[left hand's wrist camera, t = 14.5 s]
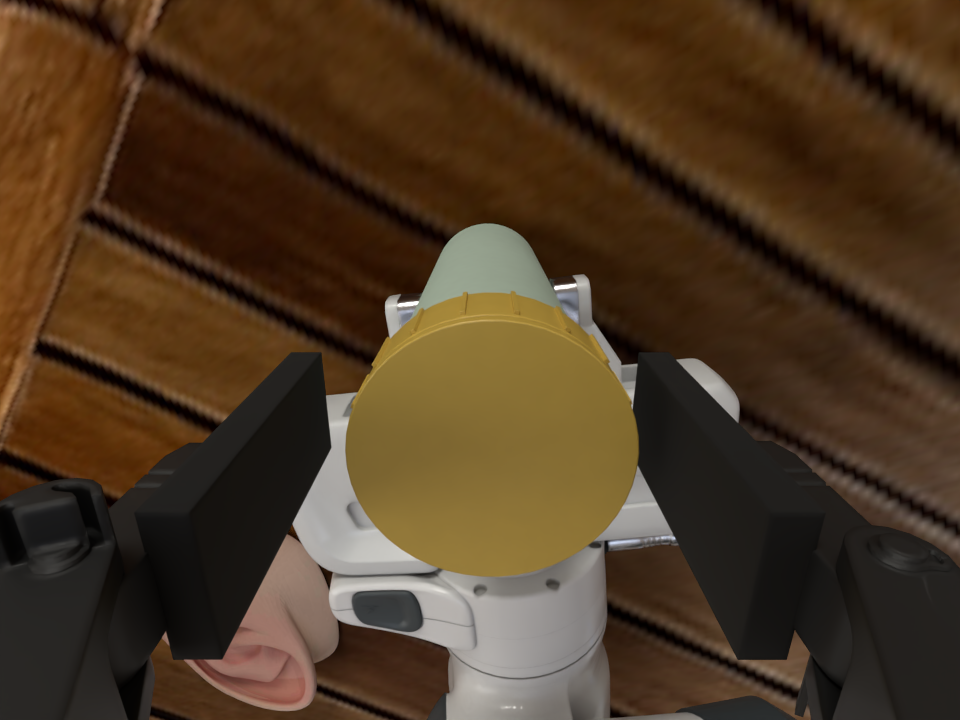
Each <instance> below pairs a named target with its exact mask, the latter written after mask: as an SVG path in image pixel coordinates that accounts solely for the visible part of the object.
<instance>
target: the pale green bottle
mask: <svg viewBox="0 0 960 720" xmlns="http://www.w3.org/2000/svg"><path fill="white" fill-rule="evenodd" d="M511 291H515V292H516V295H520V296H524V297H528V298H532V299H535V300H538V301H540V302H542V303H545V304H547V305H550V306H552V307H553V308H555V307H556V306H558V307H560V308H561V310H562V312H563V313H564V314H565V315H566V313H565V311H564V309H563V307H562V305H561V303H560V301H559V300H558V298H557V296H556V294H555V292H554V290H553V288H552V286H551V284H550V282H549V281H548V279H547V277H546V275H545V273H544V271H543V269H542V267H541V265H540V263H539V261H538V260H537V258H536V256H535V254H534V252H533V250H532V248H531V247H530V245H529V244H528V243H527V241H526V240H525V239H524V238H523V237H522V236H520V235H519V234H518V233H517V232H515V231H513V230H512V229H509V228H507V227H505V226H501V225H497V224H479V225H474V226H471V227H468V228H466V229H464V230H462V231H461V232H459V233H458V234H456V235H455V236H454V237H453V238H452V239H451V240H450V241H449V242H448V243H447V245H446V246H445V247H444V249H443V251H442V253H441V255H440V257H439V259H438V261H437V263H436V266H435V268H434V270H433V272H432V274H431V276H430V278H429V281H428V283H427V285H426V287H425V289H424V291H423V293H422V296H421V298H420V300H419V302H418V304H417V306H416V308H415V310H414V313H413V315H412V317H411V319H412V318H413V317H415V316H416V315H417V313H418V311H419V309H421V308H423V309H424V310H426V309H428V308H429V307H431V306H433V305H435V304H438V303H440V302H443V301H445V300H448V299H451V298H455V297H459V296H462V295H463V292H468V294H475V293H508V294H510V293H511ZM411 319H410V320H411Z"/></svg>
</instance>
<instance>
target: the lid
mask: <svg viewBox="0 0 960 720" xmlns="http://www.w3.org/2000/svg"><path fill="white" fill-rule="evenodd" d="M608 363H610V361H609V359H608V358H607V356H606V354H605V353H604V351H603V349H602V348H601V346H600V345H599V343H598V341H597V340H596V338H595V337H594V335H593V334H591V335H590V336H589V335H588V334H587V333H586V332H585V331H584V330H583V329H582V328H581V327H580V326H579V325H578V324H577V323H576V322H574V321H573V320H572V319H571V318H569V317H568V316H567V315H565V314H564V313H563V312H562V310H561V308H560V307H558V306H556V307H555V308H553V307H552V306H550V305H547V304H545V303H542V302H540V301H538V300H535V299H532V298H528V297H524V296H520V295H516V292H515V291H511V293H510V294H508V293H475V294H468V292H463V295H462V296H459V297H455V298H451V299H448V300H445V301H443V302H440V303H438V304H435V305H433V306H431V307H429V308H428V309H426V310H424V309H423V308H421V309H419V311H418V313H417V315H416V316H415V317H413V318H412V319H411V320H409V321H408V322H407V323H405V324H404V325H403V326H402V327H401V328H400V329H399V330H398V331H397V332H396V333H395V334H394V335H393V337H392V338H389V337H387V338H386V340H385V342H384V343H383V345H382V347H381V349H380V351H379V352H378V354H377V356H376V358H375V360H374V362H373V363H372V366H373V369H372V371H371V373H370V374H368V375H367V376H366V378H365V380H364V382H363V384H362V386H361V387H360V389H359V391H358V393H357V395H356V397H355V398H354V400H353V402H352V404H351V408H353V409H352V411H351V414H350V417H349V422H348V427H347V431H346V444H345V454H346V465H347V470H348V474H349V478H350V482H351V485H352V488H353V490H354V493H355V495H356V498H357V500H358V502H359V503H360V505H361V507H362V508H363V510H364V512H365V514H366V515H367V516H368V518H369V519H370V520H371V521H372V523H373V524H374V525H375V527H376V528H377V529H378V530H379V531H380V532H381V533H382V534H383V535H384V536H385V537H386V538H387V539H388V540H390V541H391V542H392V543H393V544H395V545H396V546H397V547H399V548H400V549H401V550H403V551H404V552H406V553H408V554H409V555H411V556H413V557H414V558H416V559H418V560H420V561H423V562H425V563H427V564H429V565H431V566H434V567H437V568H440V569H443V570H446V571H450V572H454V573H459V574H463V575H471V576H480V577H502V576H513V575H520V574H525V573H529V572H534V571H537V570H540V569H544V568H547V567H550V566H552V565H554V564H557V563H559V562H561V561H563V560H566V559H567V558H569V557H571V556H573V555H574V554H576V553H578V552H579V551H581V550H582V549H584V548H585V547H586V546H588V545H589V544H590V543H592V542H593V541H594V540H595V539H596V538H597V537H599V536H600V535H601V534H602V533H603V532H604V531H605V530H606V529H607V528H608V526H609V525H610V524H611V523H612V521H613V520H614V519H615V518H616V516H617V515H618V513H619V512H620V510H621V508H622V507H623V505H624V504H625V502H626V500H627V498H628V495H629V493H630V491H631V488H632V486H633V482H634V479H635V475H636V471H637V466H638V458H639V435H638V429H637V424H636V418H635V416H634V413H633V410H632V407H631V405H632V401H631V399H630V397H629V396H628V394H627V392H626V391H625V389H624V387H623V386H622V384H621V382H620V381H619V379H618V377H617V376H616V374H615V373H614V371H612V369H611V368H610V366H609V364H608Z"/></svg>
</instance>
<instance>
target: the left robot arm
mask: <svg viewBox="0 0 960 720" xmlns="http://www.w3.org/2000/svg"><path fill="white" fill-rule="evenodd" d="M633 413H634V416H635V418H636V424H637V429H638V435H639V458H638V467H639V469H640V471H641V473H642V475H643V477H644V479H645V481H646V483H647V485H648V487H649V489H650V491H651V493H652V494H653V496H654V498H655V500H656V502H657V504H658V506H659V508H660V510H661V512H662V514H663V516H664V518H665V520H666V522H667V524H668V525H669V527H670V529H671V531H672V533H673V535H674V537H675V539H676V541H677V543H678V545H679V547H680V549H681V551H682V553H683V555H684V556H685V558H686V560H687V562H688V564H689V566H690V568H691V570H692V572H693V574H694V576H695V578H696V580H697V582H698V584H699V586H700V587H701V589H702V591H703V593H704V595H705V597H706V599H707V601H708V603H709V605H710V607H711V609H712V611H713V613H714V615H715V617H716V618H717V620H718V622H719V624H720V626H721V628H722V630H723V632H724V634H725V636H726V638H727V640H728V642H729V644H730V646H731V648H732V649H733V651H734V653H735V655H736V657H737V659H738V660H787V656H788V652H789V649H790V645H791V641H792V638H793V634H794V630H795V631H796V632H797V634H798V635H799V637H800V638H801V640H802V641H803V643H804V644H805V646H806V647H807V649H808V650H809V652H810V657H809V660H808V664H807V667H806V671H805V674H804V678H803V681H802V685H801V688H800V692H799V695H798V699H797V702H796V708H795V715H798V716H801V717H803V715H804V712H805V709H806V705H807V704H808V703H809V708H810V715H811V720H960V568H959V567H958V566H957V565H956V564H955V562H954V561H953V560H952V559H951V558H950V557H949V556H948V555H947V554H945V553H944V552H942V551H941V550H940V549H938V548H937V547H935V546H934V545H932V544H931V543H929V542H926V541H924V540H922V539H920V538H918V537H916V536H914V535H912V534H909V533H906V532H902V531H899V530H896V529H892V528H889V527H882V526H874V525H871V524H870V523H869V522H868V521H866V520H865V519H864V518H863V517H862V516H861V515H860V514H859V513H858V512H857V511H856V510H855V509H854V508H853V507H851V506H850V505H849V504H848V503H847V502H846V501H845V500H844V499H843V498H842V497H841V496H840V495H839V494H838V493H836V492H835V491H834V490H833V489H832V488H831V487H830V486H826V482H825V481H824V480H822V479H821V478H820V477H819V476H818V475H817V474H816V473H812V469H811V468H810V467H809V466H807V465H806V464H805V463H804V462H803V461H802V460H801V459H800V458H799V457H798V456H797V455H796V454H794V453H792V452H790V451H789V450H787V449H785V448H783V447H781V446H779V445H777V444H776V443H774V442H772V441H755V440H754V439H753V438H752V437H751V436H750V435H749V434H748V433H747V432H746V431H745V430H744V429H743V428H742V427H741V426H740V424H739V423H738V422H737V421H736V420H735V419H734V418H733V417H732V416H731V415H730V414H729V413H728V412H727V411H726V410H725V409H724V408H723V407H722V406H721V405H720V404H719V403H718V402H717V401H716V400H715V399H714V398H713V397H712V396H711V395H710V394H709V393H708V392H707V391H706V390H705V389H704V388H703V387H702V386H701V385H700V384H699V383H698V382H697V381H696V380H695V379H694V378H693V377H692V376H691V375H690V374H689V373H688V372H687V371H686V370H685V368H684V367H683V366H682V365H681V364H680V363H679V362H678V361H677V360H676V359H675V358H674V357H673V356H672V355H671V354H670V353H669V352H639V355H638V364H637V373H636V382H635V391H634V401H633ZM331 448H332V446H331V437H330V428H329V419H328V410H327V401H326V391H325V382H324V373H323V364H322V355H321V352H291V353H290V354H289V355H288V356H287V357H286V358H285V359H284V360H283V361H282V362H281V363H280V364H279V365H278V366H277V367H276V368H275V370H274V371H273V372H272V373H271V374H270V375H269V376H268V377H267V378H266V379H265V380H264V381H263V382H262V383H261V384H260V385H259V386H258V387H257V388H256V389H255V390H254V391H253V392H252V393H251V394H250V395H249V396H248V397H247V398H246V399H245V400H244V401H243V402H242V403H241V404H240V405H239V406H238V407H237V408H236V409H235V410H234V411H233V412H232V413H231V414H230V415H229V416H228V417H227V418H226V419H225V420H224V421H223V422H222V423H221V424H220V426H219V427H218V428H217V429H216V430H215V431H214V432H213V433H212V434H211V435H210V436H209V437H208V438H207V439H206V440H205V441H204V442H203V443H188V444H186V445H185V446H183V447H181V448H179V449H177V450H175V451H173V452H172V453H170V454H168V455H166V456H165V457H164V458H163V459H161V460H160V461H159V462H158V463H157V464H156V465H155V466H154V467H153V468H152V469H151V470H150V471H149V474H148V475H144V476H143V477H142V478H141V479H140V480H139V481H138V482H137V483H136V484H135V487H134V488H131V489H130V490H128V491H127V492H126V493H125V494H124V495H123V496H122V497H121V498H120V499H119V500H118V501H117V502H116V503H115V504H114V505H112V506H111V507H110V508H109V509H108V507H107V504H106V500H105V497H104V493H103V490H102V486H101V485H100V484H98V483H97V482H95V481H94V480H90V479H81V478H73V479H63V480H55V481H52V482H48V483H44V484H40V485H36V486H33V487H30V488H28V489H25V490H23V491H20V492H18V493H15V494H13V495H11V496H9V497H7V498H6V499H4V500H2V501H0V720H149V716H150V709H151V702H152V696H153V689H154V682H155V675H154V668H153V664H152V660H151V657H150V655H151V653H152V652H153V650H154V649H155V647H156V646H157V644H158V643H159V641H160V640H161V638H162V637H163V635H164V634H165V632H166V634H167V638H168V641H169V645H170V649H171V652H172V656H173V660H222V659H223V657H224V655H225V653H226V651H227V649H228V648H229V646H230V644H231V642H232V640H233V638H234V636H235V634H236V632H237V630H238V628H239V626H240V624H241V622H242V620H243V618H244V617H245V615H246V613H247V611H248V609H249V607H250V605H251V603H252V601H253V599H254V597H255V595H256V593H257V591H258V589H259V587H260V586H261V584H262V582H263V580H264V578H265V576H266V574H267V572H268V570H269V568H270V566H271V564H272V562H273V560H274V558H275V556H276V555H277V553H278V551H279V549H280V547H281V545H282V543H283V541H284V539H285V537H286V535H287V533H288V531H289V529H290V527H291V525H292V524H293V522H294V520H295V518H296V516H297V514H298V512H299V510H300V508H301V506H302V504H303V502H304V500H305V498H306V496H307V494H308V493H309V491H310V489H311V487H312V485H313V483H314V481H315V479H316V477H317V475H318V473H319V471H320V469H321V467H322V465H323V463H324V462H325V460H326V458H327V456H328V454H329V452H330V450H331Z"/></svg>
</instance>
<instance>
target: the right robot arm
mask: <svg viewBox="0 0 960 720" xmlns="http://www.w3.org/2000/svg"><path fill="white" fill-rule="evenodd" d="M549 282H550V284H551V286H552V288H553V290H554V292H555V294H556V296H557V298H558V300H559V301H560V303H561V305H562V307H563V309H564V311H565V313H566V315H567V316H568V317H569V318H571V319H572V320H573V321H574V322H576V323H577V324H578V325H579V326H580V327H581V328H582V329H583V330H584V331H585V332H586V333H587V334H588V335H589V336H590V335H591V334H593V335H594V337H595V338H596V340H597V341H598V343H599V345H600V346H601V348H602V349H603V351H604V353H605V354H606V356H607V358H608V359H609V361H610V363H608V364H609V366H610V368H611V369H612V371H614V373H615V374H616V376H617V377H618V379H619V381H620V382H621V384H622V386H623V387H624V389H625V391H626V392H627V394H628V396H629V397H630V399H631V401H632V405H631V407H632V410H633V401H634V391H635V382H636V373H637V364H630V365H621V361H620V360H619V358H618V357H617V355H616V354H615V352H614V351H613V349H612V348H611V346H610V345H609V343H608V342H607V340H606V339H605V337H604V336H603V334H602V333H601V332H600V330H599V329H598V327H597V326H596V324H595V323H594V321H593V320H592V307H591V288H590V283H589V280H588V278H587V277H586V276H585V275H584V274H582V275H573V276H564V277H556V278H550V280H549ZM421 296H422V293H413V294H402V295H401V294H400V295H393V296H389V297H388V299H387V300H386V302H385V314H386V320H387V325H388V331H389V336H390V338H392V337H393V335H394V334H395V333H396V332H397V331H398V330H399V329H400V328H401V327H402V326H403V325H404V324H405V323H407V322H408V321H409V320H410V319H411V317H412V315H413V313H414V310H415V308H416V306H417V304H418V302H419V300H420V298H421ZM677 361H678V362H679V363H680V364H681V365H682V366H683V367H684V368H685V370H686V371H687V372H688V373H689V374H690V375H691V376H692V377H693V378H694V379H695V380H696V381H697V382H698V383H699V384H700V385H701V386H702V387H703V388H704V389H705V390H706V391H707V392H708V393H709V394H710V395H711V396H712V397H713V398H714V399H715V400H716V401H717V402H718V403H719V404H720V405H721V406H722V407H723V408H724V409H725V410H726V411H727V412H728V413H729V414H730V415H731V416H732V417H733V418H734V419H735V420H736V421H737V422H739V411H740V409H739V401H738V398H737V396H736V394H735V392H734V391H733V390H732V389H731V387H730V386H729V385H728V384H727V383H726V382H725V381H724V380H723V379H722V378H721V377H720V376H719V375H718V374H717V373H716V372H715V371H713V370H712V369H711V368H710V367H708V366H707V365H706V364H704V363H703V362H702V361H700V360H698V359H692V358H691V359H679V360H677ZM357 393H358V392H356V393H347V394H337V395H327V396H326V401H327V410H328V419H329V428H330V437H331V446H332V448H331V450H330V452H329V454H328V456H327V458H326V460H325V462H324V463H323V465H322V467H321V469H320V471H319V473H318V475H317V477H316V479H315V481H314V483H313V485H312V487H311V489H310V491H309V493H308V494H307V496H306V498H305V500H304V502H303V504H302V506H301V508H300V510H299V512H298V514H297V516H296V518H295V520H294V522H293V526H294V528H295V531H296V533H297V535H298V537H299V539H300V541H301V543H302V545H303V547H304V548H305V550H306V551H307V553H308V554H309V555H310V557H311V558H312V559H313V560H314V561H315V562H317V563H318V564H319V565H320V566H322V567H324V568H325V569H327V570H329V571H332V572H333V575H332V580H331V585H330V590H329V604H330V607H331V611H332V613H333V615H334V616H335V617H336V618H337V619H338V620H340V621H341V622H344V623H347V624H351V625H356V626H362V627H368V628H374V629H380V630H385V631H390V632H395V633H400V634H405V635H409V636H413V637H417V638H420V639H424V640H427V641H430V642H433V643H436V644H439V645H442V646H445V647H447V649H448V651H449V653H450V659H449V666H448V678H449V690H450V693H444V694H443V695H442V697H441V698H440V699H439V700H438V702H437V703H436V705H435V706H434V708H433V710H432V711H431V713H430V715H429V717H428V719H427V720H796V719H795V718H793V717H792V716H790V715H789V714H787V713H785V712H784V711H782V710H781V709H779V708H777V707H775V706H774V705H772V704H770V703H769V702H767V701H765V700H763V699H761V698H759V697H756V696H745V697H740V698H735V699H729V700H724V701H719V702H713V703H708V704H703V705H698V706H692V707H687V708H682V709H680V710H678V711H676V713H670V714H658V715H646V716H633V717H621V718H610V671H609V663H608V657H607V653H606V650H605V647H604V645H603V642H602V638H603V635H604V632H605V628H606V621H607V594H606V569H605V554H606V552H611V551H623V550H635V549H642V548H643V547H644V548H646V547H649V546H650V547H651V546H654V545H655V546H657V545H668V544H669V546H679V545H678V543H677V541H676V539H675V537H674V535H673V533H672V531H671V529H670V527H669V525H668V524H667V522H666V520H665V518H664V516H663V514H662V512H661V510H660V508H659V506H658V504H657V502H656V500H655V498H654V496H653V494H652V493H651V491H650V489H649V487H648V485H647V483H646V481H645V479H644V477H643V475H642V473H641V471H640V469H639V467H638V466H637V471H636V475H635V479H634V482H633V486H632V488H631V491H630V493H629V495H628V498H627V500H626V502H625V504H624V505H623V507H622V508H621V510H620V512H619V513H618V515H617V516H616V518H615V519H614V520H613V521H612V523H611V524H610V525H609V526H608V528H607V529H606V530H605V531H604V532H603V533H602V534H601V535H600V536H599V537H597V538H596V539H595V540H594V541H593V542H592V543H590V544H589V545H588V546H586V547H585V548H584V549H582V550H581V551H579V552H578V553H576V554H574V555H573V556H571V557H569V558H567V559H566V560H563V561H561V562H559V563H557V564H554V565H552V566H550V567H547V568H544V569H540V570H537V571H534V572H529V573H525V574H520V575H513V576H502V577H480V576H471V575H463V574H459V573H454V572H450V571H446V570H443V569H440V568H437V567H434V566H431V565H429V564H427V563H425V562H423V561H420V560H418V559H416V558H414V557H413V556H411V555H409V554H408V553H406V552H404V551H403V550H401V549H400V548H399V547H397V546H396V545H395V544H393V543H392V542H391V541H390V540H388V539H387V538H386V537H385V536H384V535H383V534H382V533H381V532H380V531H379V530H378V529H377V528H376V527H375V525H374V524H373V523H372V521H371V520H370V519H369V518H368V516H367V515H366V514H365V512H364V510H363V508H362V507H361V505H360V503H359V502H358V500H357V498H356V495H355V493H354V490H353V488H352V485H351V482H350V478H349V474H348V470H347V465H346V454H345V444H346V431H347V427H348V422H349V417H350V414H351V411H352V409H353V408H351V404H352V402H353V400H354V398H355V397H356V395H357Z"/></svg>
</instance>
